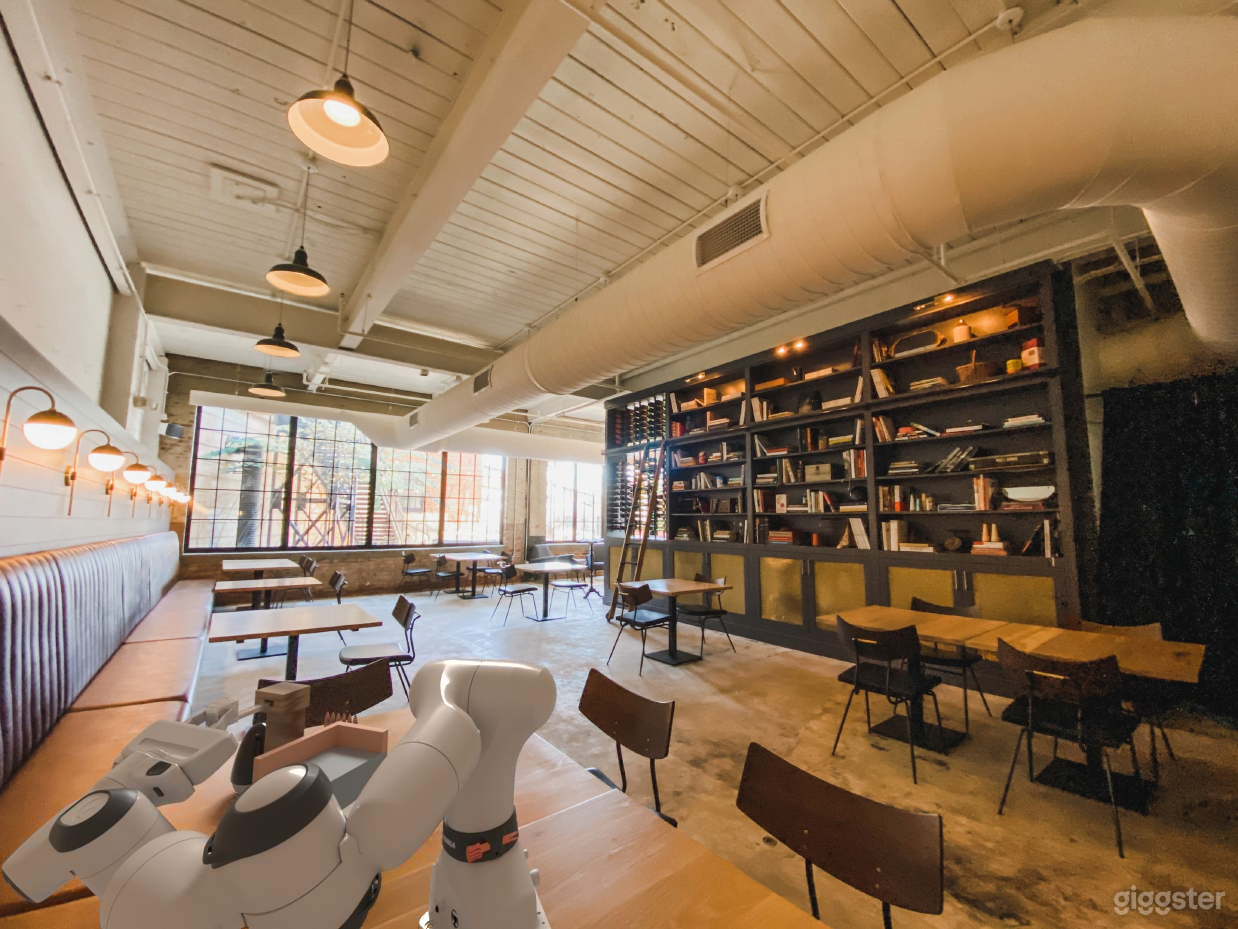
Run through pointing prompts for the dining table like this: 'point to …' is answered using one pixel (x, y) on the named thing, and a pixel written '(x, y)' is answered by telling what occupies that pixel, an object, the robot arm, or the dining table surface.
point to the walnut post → (284, 712)
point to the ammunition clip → (339, 719)
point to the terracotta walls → (321, 745)
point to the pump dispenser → (247, 757)
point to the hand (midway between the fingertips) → (224, 709)
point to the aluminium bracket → (221, 705)
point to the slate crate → (347, 770)
